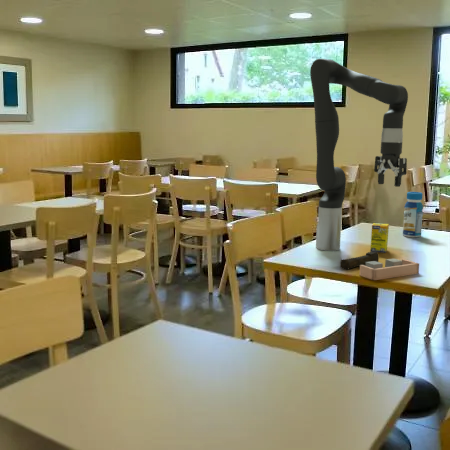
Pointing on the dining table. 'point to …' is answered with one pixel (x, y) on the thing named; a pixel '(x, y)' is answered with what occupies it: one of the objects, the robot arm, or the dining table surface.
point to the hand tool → (359, 260)
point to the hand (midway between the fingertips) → (389, 185)
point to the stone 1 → (374, 264)
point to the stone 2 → (392, 262)
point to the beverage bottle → (413, 215)
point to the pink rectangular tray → (390, 270)
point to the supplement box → (379, 237)
